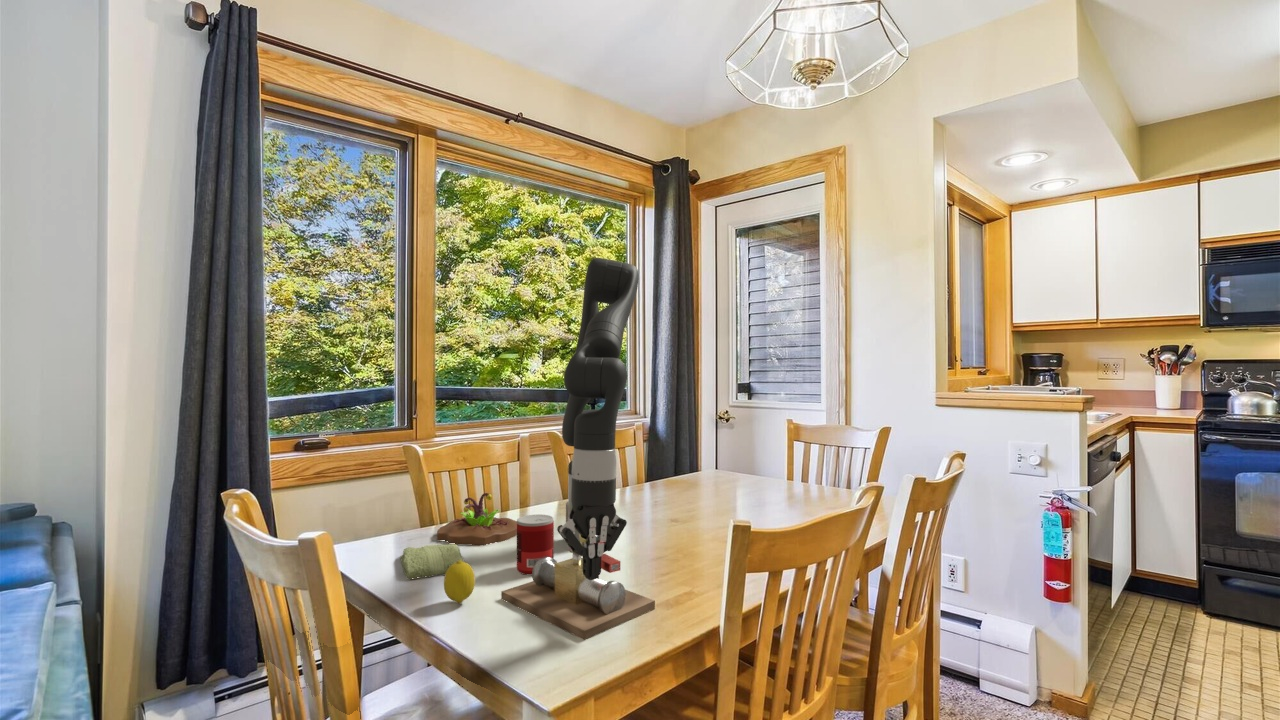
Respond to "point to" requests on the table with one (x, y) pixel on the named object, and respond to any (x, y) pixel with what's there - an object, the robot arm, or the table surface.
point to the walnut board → (574, 609)
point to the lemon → (459, 581)
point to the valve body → (578, 584)
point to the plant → (478, 526)
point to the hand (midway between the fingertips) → (591, 578)
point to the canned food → (534, 540)
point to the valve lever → (607, 563)
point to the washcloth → (429, 560)
